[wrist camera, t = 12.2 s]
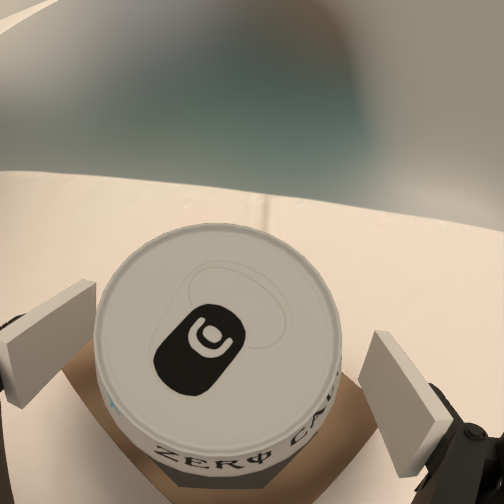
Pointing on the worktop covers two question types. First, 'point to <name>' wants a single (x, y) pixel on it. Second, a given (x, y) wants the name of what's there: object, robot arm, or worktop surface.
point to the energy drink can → (217, 349)
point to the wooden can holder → (253, 484)
